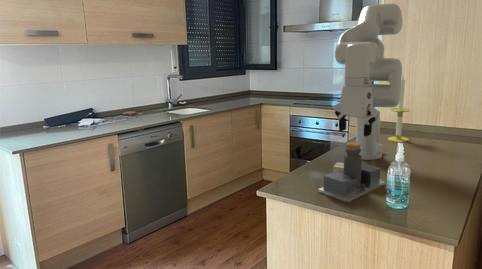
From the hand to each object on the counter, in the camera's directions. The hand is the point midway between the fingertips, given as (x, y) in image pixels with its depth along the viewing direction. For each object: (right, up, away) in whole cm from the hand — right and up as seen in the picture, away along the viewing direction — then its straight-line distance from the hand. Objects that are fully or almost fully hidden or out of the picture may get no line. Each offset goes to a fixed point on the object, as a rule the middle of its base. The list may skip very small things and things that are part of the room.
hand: (354, 132), depth 125 cm
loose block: (0, -16, +18) cm, 24 cm away
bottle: (+1, -18, +5) cm, 19 cm away
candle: (+41, -3, +62) cm, 75 cm away
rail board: (+1, -19, +5) cm, 20 cm away
